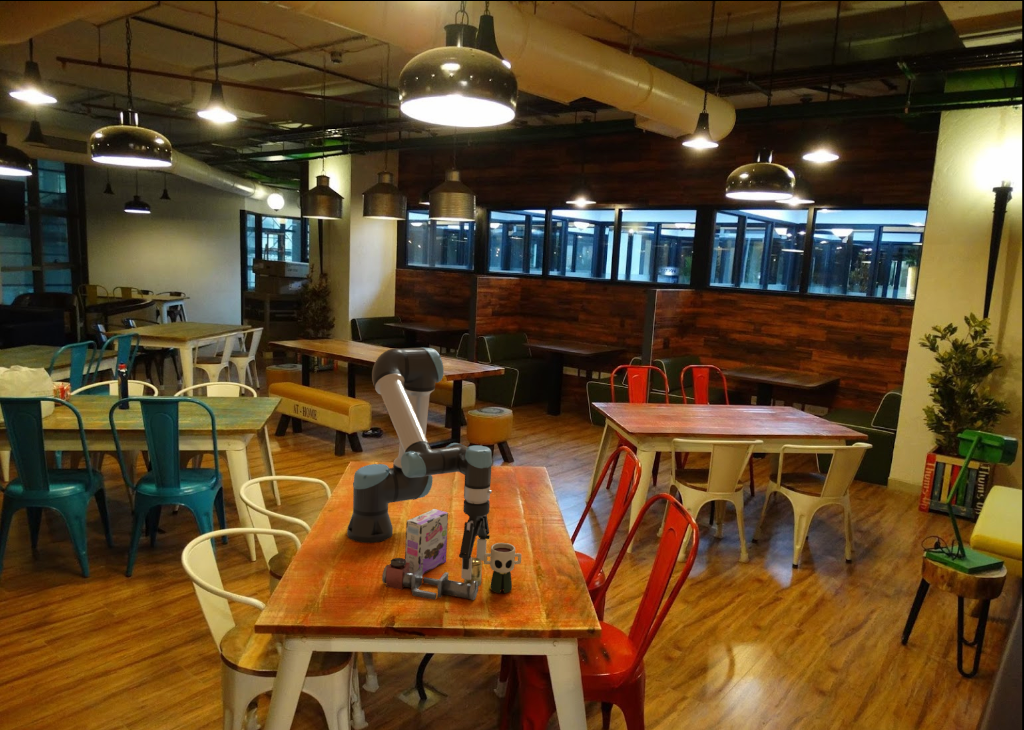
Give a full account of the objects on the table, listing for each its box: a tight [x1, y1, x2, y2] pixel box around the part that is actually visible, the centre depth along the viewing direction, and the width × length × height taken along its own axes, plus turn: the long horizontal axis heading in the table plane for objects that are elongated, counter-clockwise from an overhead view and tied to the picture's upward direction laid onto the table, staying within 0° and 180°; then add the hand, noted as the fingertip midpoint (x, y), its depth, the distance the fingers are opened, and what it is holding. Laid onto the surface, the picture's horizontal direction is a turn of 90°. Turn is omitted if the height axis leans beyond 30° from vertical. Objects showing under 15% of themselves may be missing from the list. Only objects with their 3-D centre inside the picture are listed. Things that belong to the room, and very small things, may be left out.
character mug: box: [483, 542, 522, 594], centre depth 202 cm, size 11×7×13 cm, turn 97°
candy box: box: [404, 508, 449, 575], centre depth 214 cm, size 14×6×16 cm, turn 148°
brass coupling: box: [463, 557, 483, 587], centre depth 206 cm, size 5×5×7 cm
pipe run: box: [381, 557, 479, 601], centre depth 200 cm, size 27×9×7 cm, turn 75°
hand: (473, 569), depth 206 cm, fingers open, 13 cm apart
